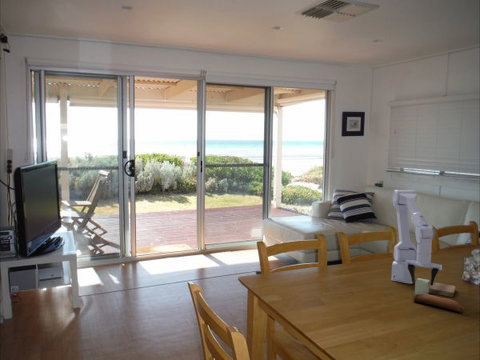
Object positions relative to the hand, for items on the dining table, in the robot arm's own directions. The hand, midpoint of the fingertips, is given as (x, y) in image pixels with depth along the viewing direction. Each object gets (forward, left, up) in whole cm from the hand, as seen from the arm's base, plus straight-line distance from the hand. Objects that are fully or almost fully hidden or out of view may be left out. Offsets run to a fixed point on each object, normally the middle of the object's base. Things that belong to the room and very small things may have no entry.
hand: (422, 283), depth 182 cm
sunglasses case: (+8, -10, -5) cm, 14 cm away
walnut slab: (+7, +8, -5) cm, 12 cm away
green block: (0, 0, -5) cm, 5 cm away
